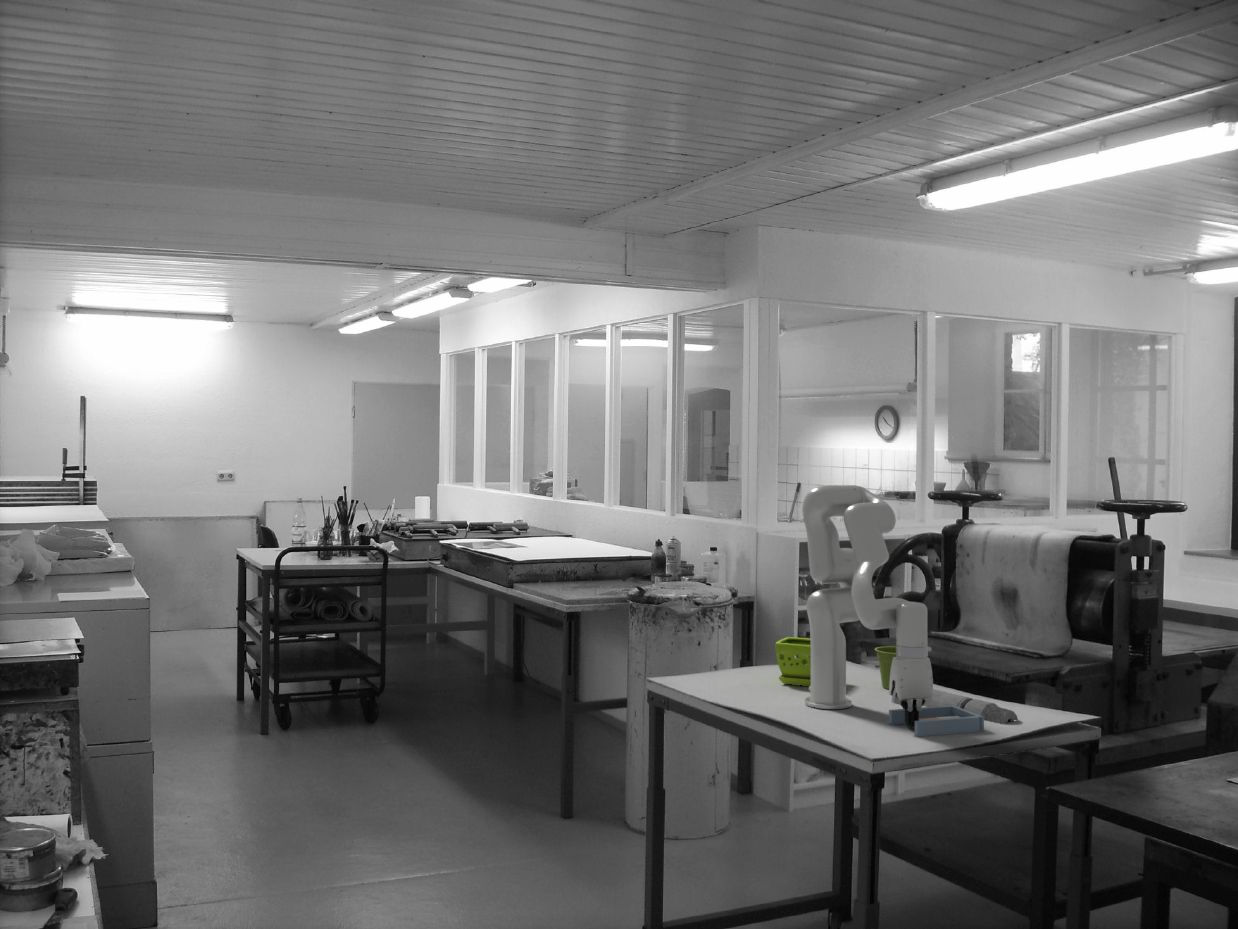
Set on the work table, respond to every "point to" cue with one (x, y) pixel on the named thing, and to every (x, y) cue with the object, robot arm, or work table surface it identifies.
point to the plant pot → (885, 663)
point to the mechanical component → (972, 706)
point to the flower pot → (794, 660)
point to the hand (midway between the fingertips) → (911, 726)
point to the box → (941, 720)
